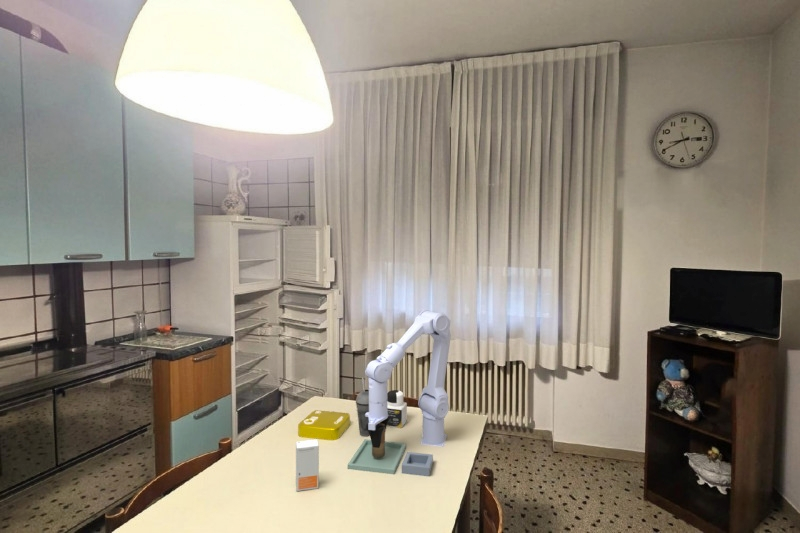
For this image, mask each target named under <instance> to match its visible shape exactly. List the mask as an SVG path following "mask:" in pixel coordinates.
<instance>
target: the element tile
mask: <svg viewBox="0 0 800 533" xmlns="http://www.w3.org/2000/svg"><path fill="white" fill-rule="evenodd" d="M350 418H351V415H350V414H349V413H348V412H341V411H340V412H338V411H330V410H316V409H315V410H313V411H311V412H310V413H309V414H308V415H307V416H306V417H304V418H303V420H301V421H300V422H299V423H298V426H297V430H298V431H297V436H298V437H299V438H303V439H304V438H305V439H312V440H316V439H318V440H326V441H337V440H339V439H340V438H341V436H342V435H343V434H344V433H345V432H346V430H347V429H348V428H349V426H350V425H351V424H350V423H351V420H350Z"/></svg>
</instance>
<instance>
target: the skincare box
mask: <svg viewBox="0 0 800 533" xmlns="http://www.w3.org/2000/svg"><path fill="white" fill-rule="evenodd" d="M319 447H320V446H319V439H306V440H300V441H295V488H296V492H300V491H308V490H315V489H319V485H320V484H319V483H320V482H319V477H320V476H319V474H320V472H319V468H320V463H319V461H320V460H319V459H320V458H319V457H320V454H319V453H320V450H319Z"/></svg>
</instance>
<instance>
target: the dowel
mask: <svg viewBox="0 0 800 533" xmlns="http://www.w3.org/2000/svg"><path fill="white" fill-rule="evenodd" d="M379 424H380V425H382V426H385V424H383V423H379ZM385 441H386V431H385V427H384V429H383V432H382V437H381V444H380V447H379V448H375V447H373V446H372V456H374V457H383V456H384V455H385Z"/></svg>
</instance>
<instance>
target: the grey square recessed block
mask: <svg viewBox="0 0 800 533" xmlns="http://www.w3.org/2000/svg"><path fill="white" fill-rule="evenodd" d="M433 465H434V454H433V453H432V454H430V453H423V452H422V453H421V452H412V451H411V452H410V451H407V452H406V454H405V456H404V458H403V461H402V463H401V474H404V475H413V476H420V477H421V476H422V477H430V476H431V472H432V468H433Z"/></svg>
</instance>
